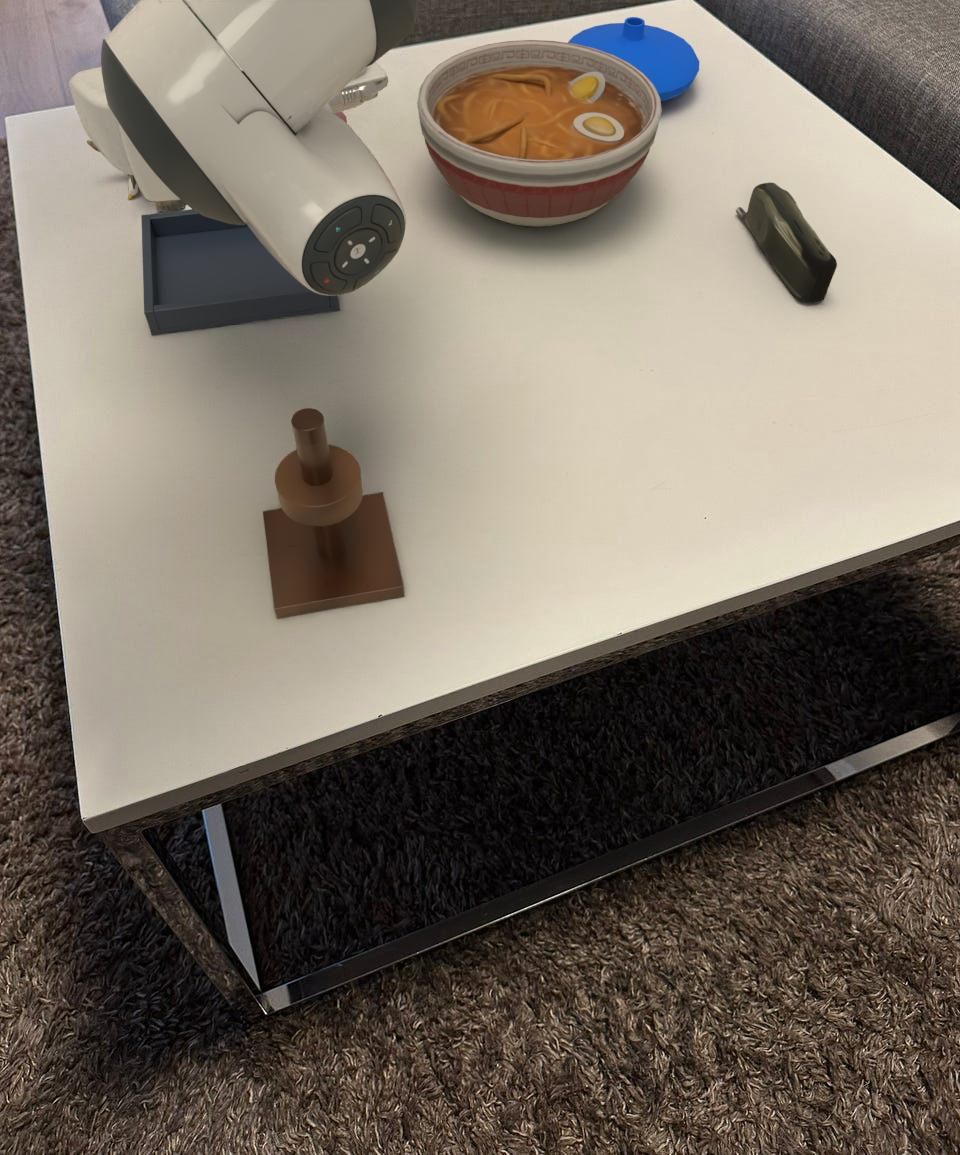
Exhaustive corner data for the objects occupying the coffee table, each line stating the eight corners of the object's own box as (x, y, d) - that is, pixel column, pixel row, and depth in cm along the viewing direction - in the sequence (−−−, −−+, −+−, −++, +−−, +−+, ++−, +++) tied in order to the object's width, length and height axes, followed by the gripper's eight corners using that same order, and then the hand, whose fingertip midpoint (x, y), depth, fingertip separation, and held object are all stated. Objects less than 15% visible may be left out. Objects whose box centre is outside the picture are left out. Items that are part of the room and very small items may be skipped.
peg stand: (277, 619, 66) (238, 484, 55) (265, 521, 72) (227, 379, 60) (404, 596, 68) (392, 460, 56) (384, 502, 73) (369, 360, 62)
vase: (606, 135, 104) (614, 69, 98) (532, 71, 112) (536, 7, 106) (722, 101, 109) (736, 36, 103) (643, 42, 117) (652, -21, 111)
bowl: (669, 158, 102) (686, 62, 93) (612, 285, 89) (627, 186, 81) (467, 117, 106) (467, 22, 98) (385, 232, 93) (378, 133, 85)
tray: (151, 335, 84) (143, 312, 82) (148, 237, 92) (141, 214, 90) (340, 310, 86) (337, 287, 84) (320, 217, 94) (316, 194, 92)
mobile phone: (846, 259, 84) (769, 164, 92) (815, 265, 83) (741, 168, 91) (828, 305, 88) (755, 209, 96) (798, 310, 87) (728, 214, 95)
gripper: (395, 40, 64) (314, -38, 71) (93, 115, 58) (37, 22, 65) (401, 131, 69) (324, 50, 76) (124, 208, 63) (68, 113, 70)
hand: (190, 37), depth 71 cm, fingers closed on ring, 7 cm apart
